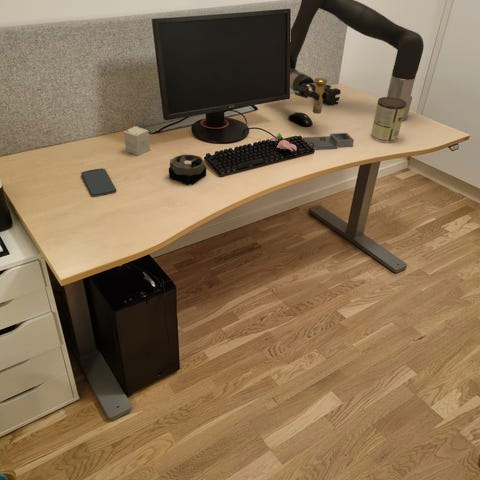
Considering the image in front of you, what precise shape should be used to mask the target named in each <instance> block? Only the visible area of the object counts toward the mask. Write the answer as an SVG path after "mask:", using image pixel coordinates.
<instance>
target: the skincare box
mask: <svg viewBox="0 0 480 480" xmlns="http://www.w3.org/2000/svg"><path fill="white" fill-rule="evenodd" d="M123 138H124V145H125V152H127V153H130V154H133V155H135V156H141V155H143V154H145V153H147V152H149V151H151V144H150V134H149V130H148V129H146V128H143V127H139V126H137V125H136V126H132V127H131V128H128V129H126V130H124V131H123Z"/></svg>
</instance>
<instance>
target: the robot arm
mask: <svg viewBox="0 0 480 480" xmlns="http://www.w3.org/2000/svg"><path fill="white" fill-rule="evenodd" d="M318 10H323V11H325V12H327V13H329V14H331V15H333V16H334V17H336V19H338V20H339V21H341V22H342V23H343V24H345V25H346V26H347V27H348V28H350V29H352V30H354V31H356V32H358V33H359V34H361V35H364V36H366V37H368V38H372V39H375V40H380V41H381V42H382V41H383V42H384V43H387V44H388V45H389V46H391V47H392V48H394V49H395V50H397V51H396V55H395V61H394V63H393V64H394V65H393V68H392V73H391V77H390V81H389V85H388V88H387V95H386V97H394V98H398V99H402V100H404V101H405V102H406V103H407V104H406V107H405V111H404V115H403V119H402V122H403V121H405V120H408V116H409V113H410V109H411V105H412V101H413V97H412V93H413V92H412V91H413V88H414V84H415V81H416V77H417V73H418V70H419V68H420V64H421V60H422V56H423V52H424V47H425V45H424V40H423V38H422V36H421V35H420V34H419V32H416V31H413V30H411V29H408V28H406V27H403V26H402V25H398V24H396V23H395V22H393V20H391V19H389V18H387V17H386V16H384V15H383V14H381V13H380V12H378V11H376V10H375V9H373V8H371V7H369V6H368V5H366V4H365V3H362V2H360V1H357V0H301V2H300V6H299V9H298V12H297V14H296V17H295V20H294V22H293V24H292V27H291V29H290V31H291V42H290V88H289V89H291V90H292V91H293V92H294V95H296V96H299V97H301V98H305V99H308V98H309V99H310V98H311V99H313V100H314V99H315V100H317V101H318V100H319V98H320V95H319V94H318V93H316V92H315V88H316V83H315V80H314V79H313V78H312V77H311V76H308V75H307V74H305V73H303V72H301V71H299V70H297V69H296V67H297V64H298V63H297V62H298V58H299V54H300V53H301V50H302V48H303V46H304V44H305V41H306V38H307V36H308V32H309V29H310V27H311V24H312V23H313V19H314V18H315V15H316V14H317V12H318ZM326 85H327V84H325V87H324V95H323V98H324V99H328V98H329V94H328V93H327V91H328V88H327V86H326Z"/></svg>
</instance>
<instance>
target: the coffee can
mask: <svg viewBox="0 0 480 480" xmlns="http://www.w3.org/2000/svg"><path fill="white" fill-rule="evenodd" d="M406 104H407V103H406V102H405V101H404V100H402V99H398V98H394V97H387V96H384V97H380V98H378V99H377V104H376V110H375V114H374V117H373V118H374V120H373V124H372V129H371V134H370V137H371V139H372V140H375V141H377V142H380V143H387V144H388V143H390V144H391V143H396V142H397V141H398V139H399V135H400V131H401V126H402V123H403V121H402V119H403V115H404V111H405V107H406Z"/></svg>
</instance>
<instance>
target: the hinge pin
mask: <svg viewBox="0 0 480 480" xmlns="http://www.w3.org/2000/svg"><path fill="white" fill-rule="evenodd" d="M327 82H328V79H326V78H325V77H324V78H323V77H322V78H321V77H317V78H314V83H315V84H316V88H315V92H316V93H318V94H319V95H320V98H319V100H318V101H317V100H315V99H313V106H312V113H313V114H322V109H323V103H324V102H323V95H324V87H325V85H327V84H328V83H327Z"/></svg>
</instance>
